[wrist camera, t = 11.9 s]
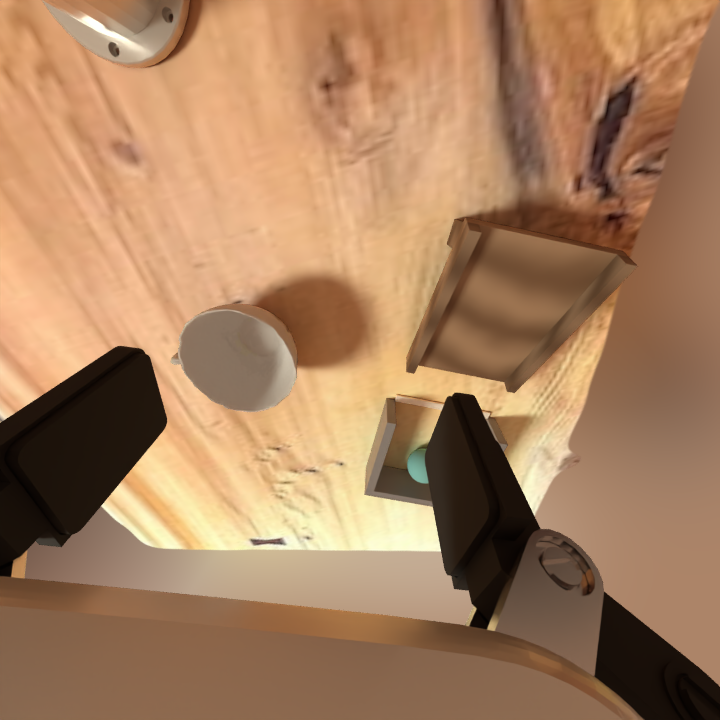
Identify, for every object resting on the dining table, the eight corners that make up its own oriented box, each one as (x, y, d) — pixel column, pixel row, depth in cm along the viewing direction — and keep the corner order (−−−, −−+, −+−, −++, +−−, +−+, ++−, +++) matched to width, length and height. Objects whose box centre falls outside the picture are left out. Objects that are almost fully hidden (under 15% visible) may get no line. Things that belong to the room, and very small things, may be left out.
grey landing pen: (388, 392, 41) (389, 416, 37) (497, 413, 42) (511, 439, 37) (366, 467, 49) (364, 494, 45) (458, 484, 50) (465, 512, 45)
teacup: (303, 284, 34) (283, 308, 27) (317, 374, 40) (303, 412, 33) (180, 289, 35) (132, 313, 28) (212, 376, 41) (178, 413, 35)
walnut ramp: (451, 212, 29) (473, 219, 22) (584, 241, 30) (644, 256, 23) (404, 362, 38) (410, 399, 32) (507, 382, 39) (534, 423, 32)
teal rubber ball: (414, 446, 42) (409, 483, 41) (447, 452, 43) (444, 489, 41) (406, 445, 47) (401, 477, 46) (436, 450, 47) (432, 483, 46)
